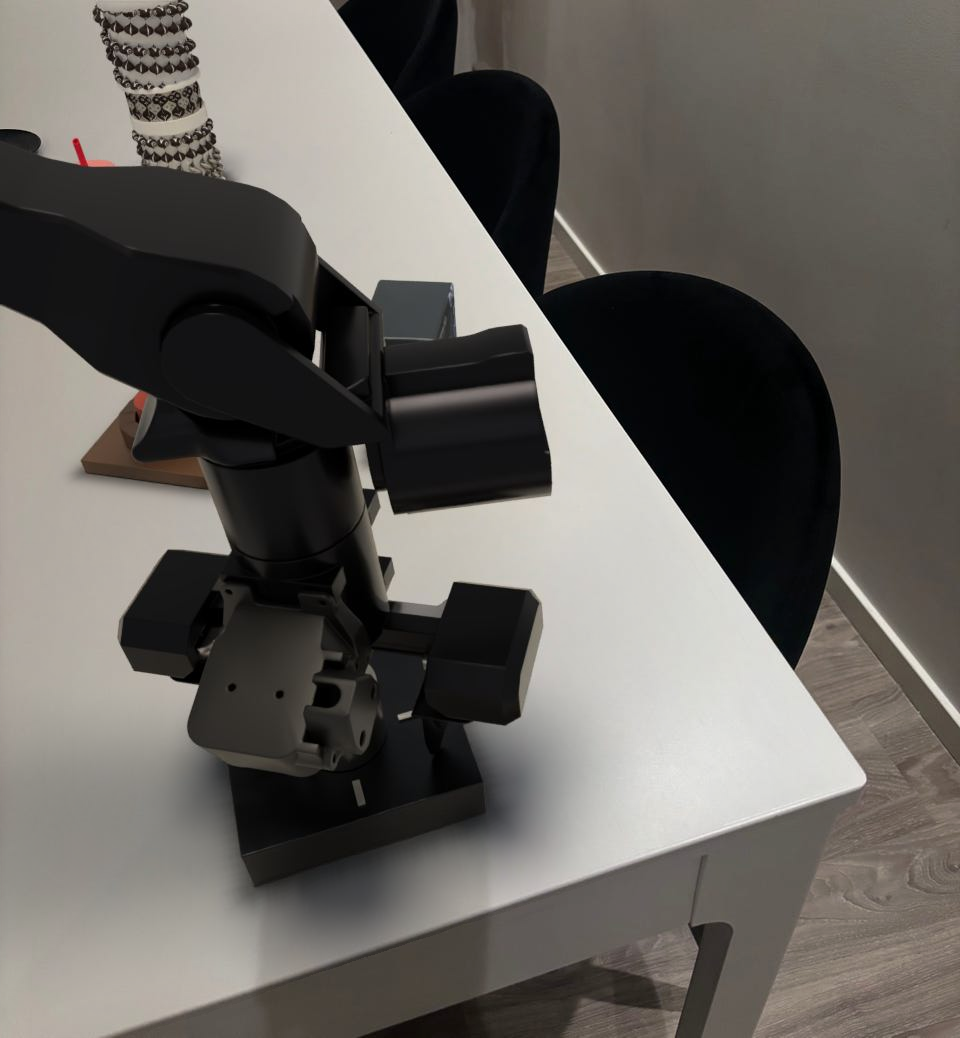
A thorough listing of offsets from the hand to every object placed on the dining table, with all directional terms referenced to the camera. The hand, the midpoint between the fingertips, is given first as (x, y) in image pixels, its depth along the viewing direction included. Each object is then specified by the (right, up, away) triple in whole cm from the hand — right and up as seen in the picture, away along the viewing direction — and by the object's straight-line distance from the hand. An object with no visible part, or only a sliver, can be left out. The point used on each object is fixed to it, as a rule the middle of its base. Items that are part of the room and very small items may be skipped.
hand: (362, 735), depth 49 cm
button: (-17, +19, +22) cm, 34 cm away
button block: (-17, +17, +24) cm, 34 cm away
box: (+1, +18, +24) cm, 30 cm away
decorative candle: (-26, +48, +58) cm, 79 cm away
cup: (-30, +37, +47) cm, 67 cm away
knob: (-1, 0, 0) cm, 1 cm away
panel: (-1, -2, +2) cm, 3 cm away
